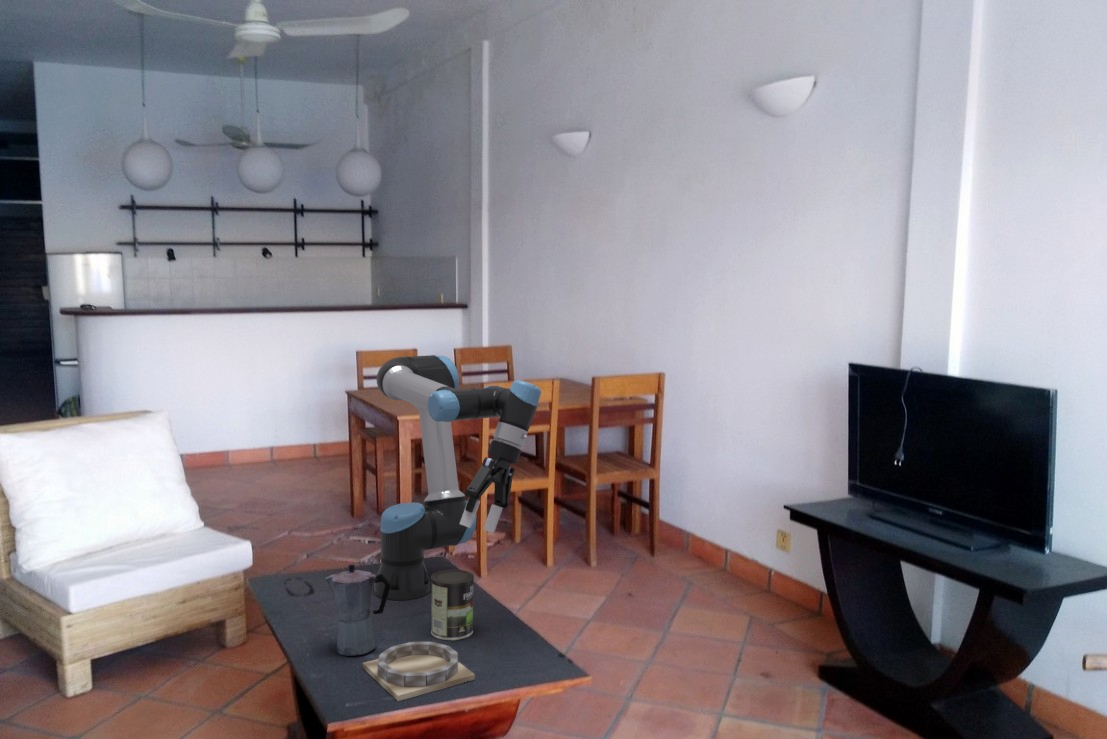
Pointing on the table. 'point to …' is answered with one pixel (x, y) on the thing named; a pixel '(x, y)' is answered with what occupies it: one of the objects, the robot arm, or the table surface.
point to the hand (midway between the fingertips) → (477, 529)
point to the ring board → (417, 669)
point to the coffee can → (452, 604)
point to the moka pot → (355, 609)
